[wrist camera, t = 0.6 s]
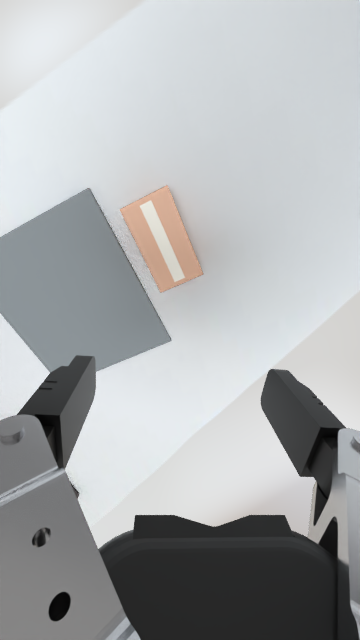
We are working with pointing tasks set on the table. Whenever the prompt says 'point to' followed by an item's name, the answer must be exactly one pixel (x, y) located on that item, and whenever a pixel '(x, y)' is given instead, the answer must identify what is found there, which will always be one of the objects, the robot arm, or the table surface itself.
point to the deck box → (162, 239)
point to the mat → (75, 288)
